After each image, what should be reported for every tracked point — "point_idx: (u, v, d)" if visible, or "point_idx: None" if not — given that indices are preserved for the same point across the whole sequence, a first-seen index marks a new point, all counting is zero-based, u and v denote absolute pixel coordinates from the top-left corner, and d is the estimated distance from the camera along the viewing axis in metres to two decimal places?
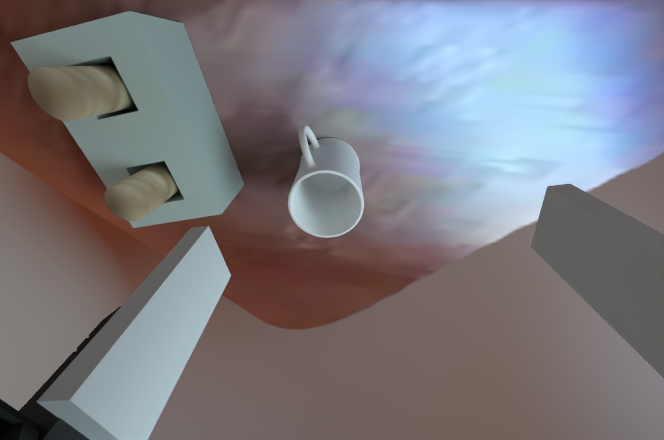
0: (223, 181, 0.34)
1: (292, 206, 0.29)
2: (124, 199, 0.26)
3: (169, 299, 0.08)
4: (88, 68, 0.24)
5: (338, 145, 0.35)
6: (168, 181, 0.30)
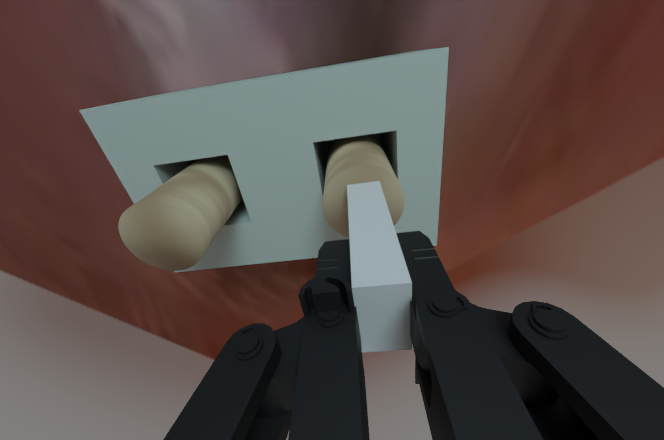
0: (380, 57, 0.16)
1: None
2: None
3: None
4: None
5: None
6: (351, 141, 0.16)
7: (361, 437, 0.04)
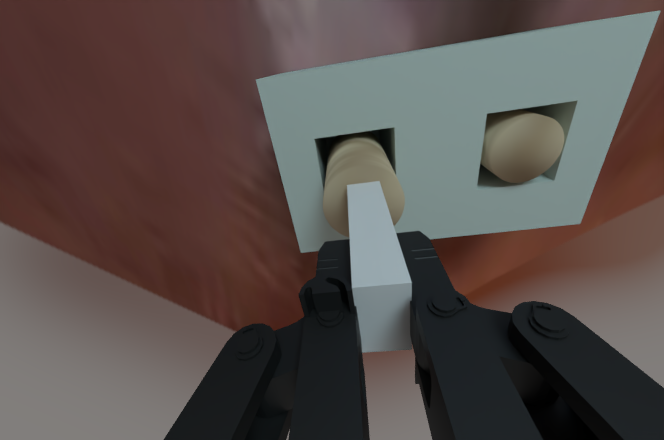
0: (547, 28, 0.16)
1: None
2: (518, 149, 0.16)
3: None
4: (329, 165, 0.16)
5: None
6: None
7: (361, 437, 0.04)
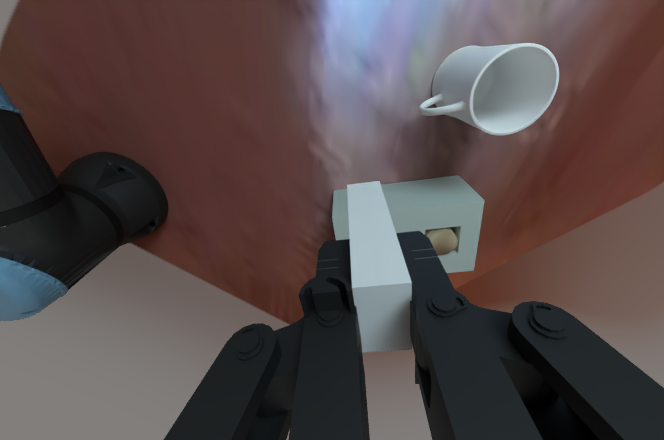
0: (452, 191, 0.38)
1: (500, 130, 0.28)
2: (439, 243, 0.38)
3: None
4: None
5: (444, 72, 0.33)
6: None
7: (361, 437, 0.04)
